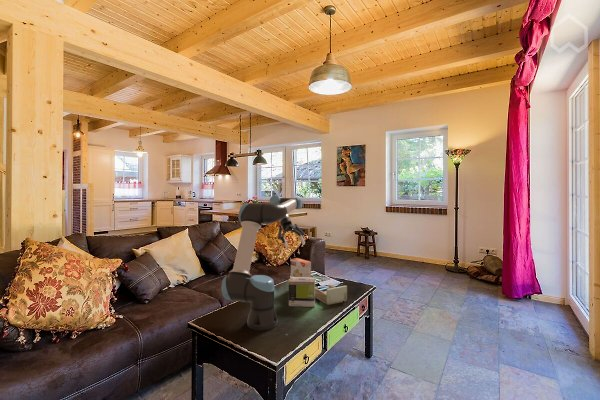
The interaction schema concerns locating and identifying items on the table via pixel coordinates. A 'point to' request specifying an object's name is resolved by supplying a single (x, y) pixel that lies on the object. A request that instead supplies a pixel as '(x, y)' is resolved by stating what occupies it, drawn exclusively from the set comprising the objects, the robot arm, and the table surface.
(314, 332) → the table surface
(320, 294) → the book trough
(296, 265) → the cracker box
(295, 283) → the tea box
